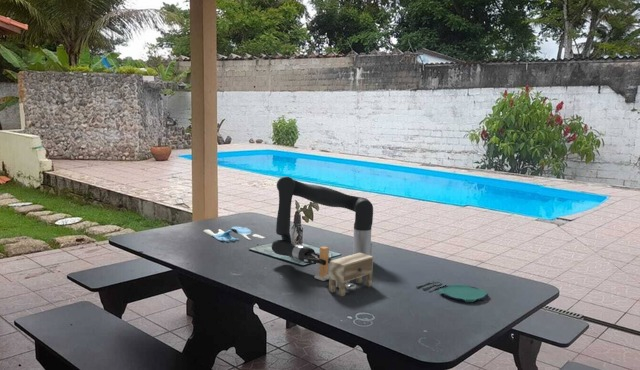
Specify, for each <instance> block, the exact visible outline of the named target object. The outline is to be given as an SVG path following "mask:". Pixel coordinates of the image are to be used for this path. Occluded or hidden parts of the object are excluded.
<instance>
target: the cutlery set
mask: <svg viewBox="0 0 640 370" xmlns="http://www.w3.org/2000/svg"><path fill="white" fill-rule="evenodd" d="M431 283H432V284H431ZM434 283H435V284H439V286H434V285H435V284H434ZM434 283H433V281H432V282H431V281H426V282H425V283H424V284H419V285H416V286H415V287H416V288H415V289H419V288H422V290H423V291H424V290H426V289H428V288H432V287H433V288H432V289H430V290H428V291H429V292H428V291H427V292H428V293H430V292H432V291H434V290H438V288H439V290H438V293H439V295H441V294H442V296H445V297H447V298H450V299H453V300H456V301H457V300H458V301H464V302H466V303H474V302H476V301H482V300H484V299H486V298H487V297H488V295H489V293H488V292H487V291H486V290H484V289H481V288H479V287H478V288H477V287H475V286H470V285H466V284H450V285H447V283H445V284H442V282H441V281H436V282H435V281H434ZM440 283H441V284H440ZM433 284H434V285H433ZM424 285H425V287H424ZM445 285H446V286H445ZM421 286H422V287H421ZM443 286H444V287H443ZM440 287H441V288H440Z"/></svg>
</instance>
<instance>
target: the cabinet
mask: <svg viewBox="0 0 640 370" xmlns="http://www.w3.org/2000/svg"><path fill="white" fill-rule="evenodd" d="M373 265H374V256H373V255H372V256H370V255H366V254H363V253H356V254H353V253H352V254H349V255H346V256H342V257H340V258H336V259H335V258H334V259H331V261H330V264H329V265H328V274H329V280H328V292H330V293H335V292H336V282H335V281H338V282H339V287H338V296H340V297H344V296H346V289H345V282H347V281H349V282H350V281H353V280H355V283H356V284H361V283H363V277H365V287H369V288H370V287H372V286H373V269H374V267H373Z"/></svg>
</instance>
